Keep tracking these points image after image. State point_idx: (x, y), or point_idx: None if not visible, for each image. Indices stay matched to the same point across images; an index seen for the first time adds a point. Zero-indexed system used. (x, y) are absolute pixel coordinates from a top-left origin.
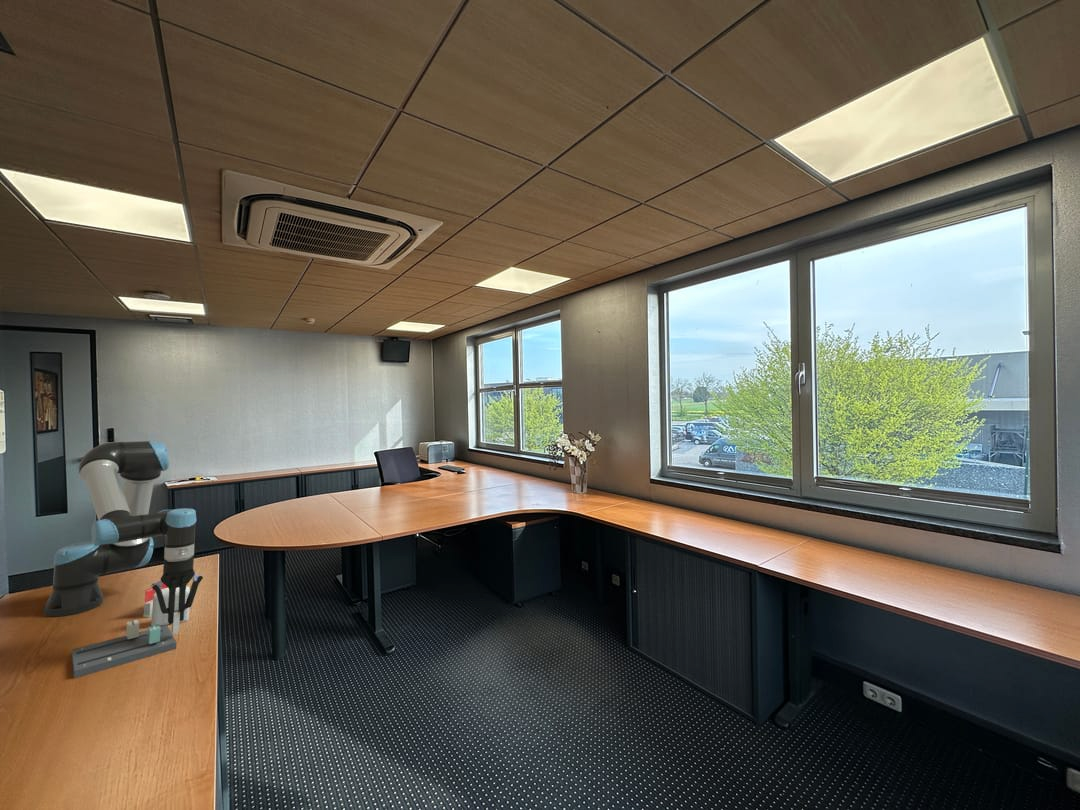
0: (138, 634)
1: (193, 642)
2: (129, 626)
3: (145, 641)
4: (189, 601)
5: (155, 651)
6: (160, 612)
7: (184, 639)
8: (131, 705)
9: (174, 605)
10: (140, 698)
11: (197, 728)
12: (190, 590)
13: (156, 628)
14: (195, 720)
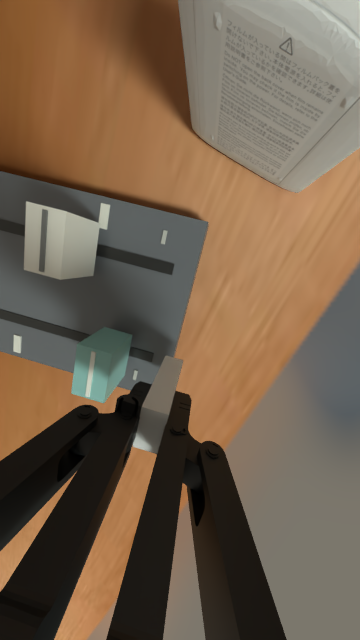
0: (88, 275)
1: (210, 392)
2: (27, 270)
3: (108, 312)
4: (196, 523)
5: None
6: (214, 108)
7: (206, 351)
8: (39, 514)
9: (114, 490)
10: (52, 508)
11: (84, 619)
12: (222, 608)
13: (93, 392)
14: (88, 608)
